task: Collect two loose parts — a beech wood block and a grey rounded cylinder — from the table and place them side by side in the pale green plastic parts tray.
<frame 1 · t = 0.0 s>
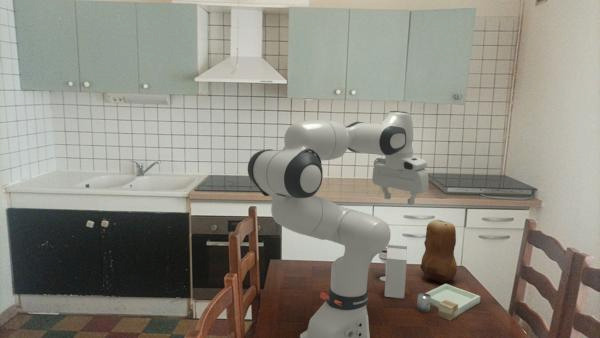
hand: (399, 201, 145), 39 cm above the table, tool pointing down, fingers open, 8 cm apart
wineglass: (385, 279, 179), on the table
butternut squash: (437, 280, 179), on the table
parts tray: (450, 301, 159), on the table
beech block: (447, 316, 148), on the table
milk carton: (394, 294, 164), on the table
grey rounded cylinder: (423, 309, 153), on the table
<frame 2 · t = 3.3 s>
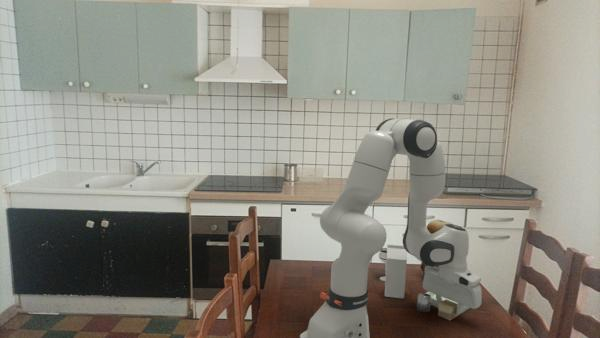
hand: (449, 310, 149), 2 cm above the table, tool pointing down, fingers closed on beech block, 4 cm apart
beech block: (447, 315, 148), on the table, touching gripper
everything else where it was.
when the fingers open (5 cm above the table, at t = 8.2 s): beech block drops 2 cm, resting on parts tray.
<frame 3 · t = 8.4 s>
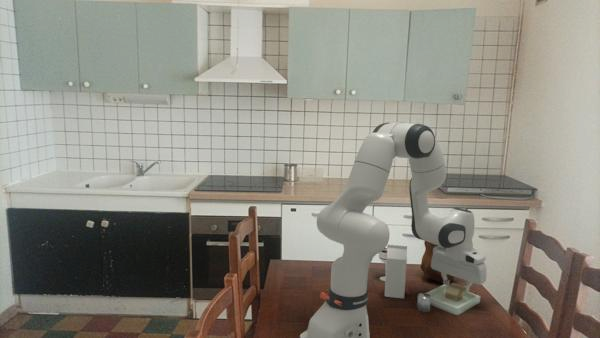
hand: (455, 287, 160), 5 cm above the table, tool pointing down, fingers open, 6 cm apart
beech block: (454, 298, 160), point 1 cm above the table, touching parts tray
everything else where it was.
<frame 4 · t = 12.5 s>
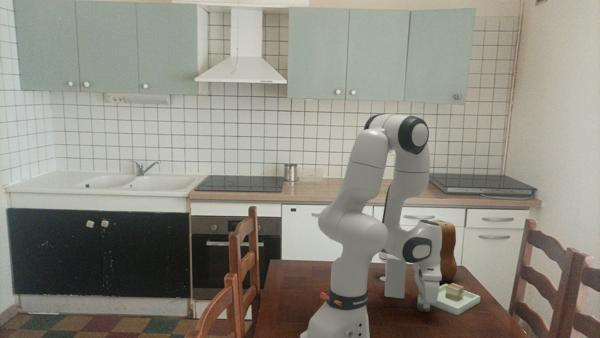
hand: (423, 303, 152), 2 cm above the table, tool pointing down, fingers closed on grey rounded cylinder, 4 cm apart
grey rounded cylinder: (423, 309, 153), on the table, touching gripper
everything else where it was.
when the fingers open (5 cm above the table, at t = 16.9 s): grey rounded cylinder drops 2 cm, resting on parts tray.
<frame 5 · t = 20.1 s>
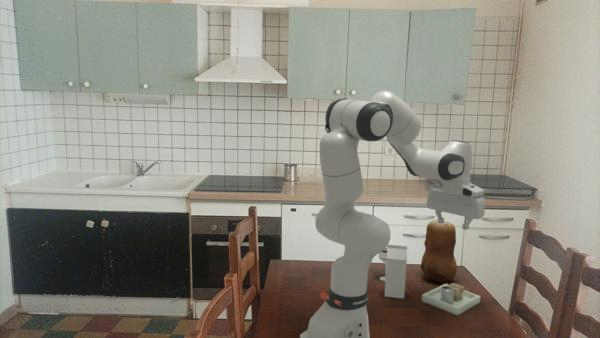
hand: (452, 225, 153), 29 cm above the table, tool pointing down, fingers open, 8 cm apart
grey rounded cylinder: (446, 302, 157), point 1 cm above the table, touching parts tray
everything else where it was.
at the end: beech block inside the target area on the parts tray (2.3 cm from its centre), point 0.8 cm above the parts tray's base; grey rounded cylinder inside the target area on the parts tray (3.0 cm from its centre), point 0.8 cm above the parts tray's base; the gripper is holding nothing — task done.
